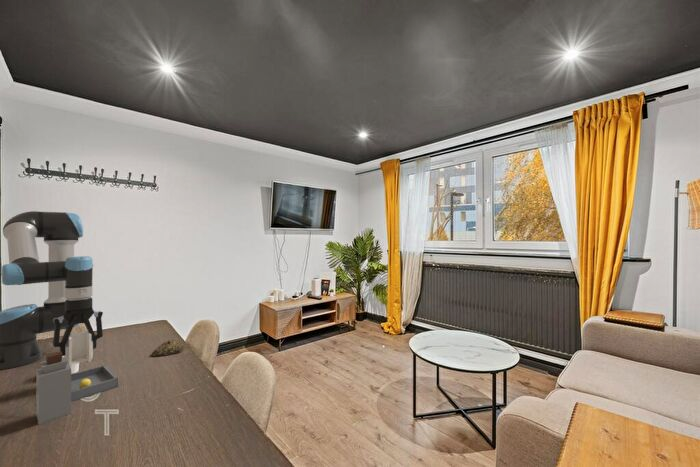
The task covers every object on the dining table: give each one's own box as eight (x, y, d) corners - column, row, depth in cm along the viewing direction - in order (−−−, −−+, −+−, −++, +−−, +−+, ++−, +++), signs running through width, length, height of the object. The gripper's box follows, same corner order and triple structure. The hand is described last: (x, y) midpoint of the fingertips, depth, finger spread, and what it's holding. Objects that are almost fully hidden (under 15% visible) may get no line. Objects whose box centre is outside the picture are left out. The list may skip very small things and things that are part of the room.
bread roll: (181, 354, 134) (181, 343, 134) (149, 358, 130) (149, 347, 130) (186, 344, 146) (186, 334, 146) (156, 348, 142) (156, 338, 142)
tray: (48, 388, 104) (48, 380, 104) (104, 372, 116) (104, 364, 116) (56, 406, 93) (56, 396, 93) (118, 386, 105) (118, 378, 105)
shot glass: (65, 377, 112) (65, 359, 112) (51, 375, 113) (51, 357, 113) (85, 369, 118) (85, 352, 119) (71, 368, 120) (71, 350, 120)
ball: (77, 380, 102) (79, 381, 100) (89, 376, 105) (91, 377, 103) (78, 389, 102) (80, 391, 100) (90, 385, 105) (92, 387, 103)
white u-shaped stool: (66, 362, 109) (66, 335, 109) (87, 357, 113) (87, 331, 114) (69, 366, 105) (69, 338, 105) (91, 361, 110) (91, 334, 110)
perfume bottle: (67, 405, 93) (67, 348, 93) (71, 413, 89) (71, 353, 89) (36, 415, 88) (36, 354, 88) (38, 424, 84) (38, 360, 84)
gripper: (43, 304, 100) (43, 373, 99) (113, 295, 115) (113, 355, 114) (40, 301, 104) (40, 367, 104) (108, 293, 119) (108, 350, 119)
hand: (78, 360), depth 109 cm, fingers closed on white u-shaped stool, 6 cm apart
